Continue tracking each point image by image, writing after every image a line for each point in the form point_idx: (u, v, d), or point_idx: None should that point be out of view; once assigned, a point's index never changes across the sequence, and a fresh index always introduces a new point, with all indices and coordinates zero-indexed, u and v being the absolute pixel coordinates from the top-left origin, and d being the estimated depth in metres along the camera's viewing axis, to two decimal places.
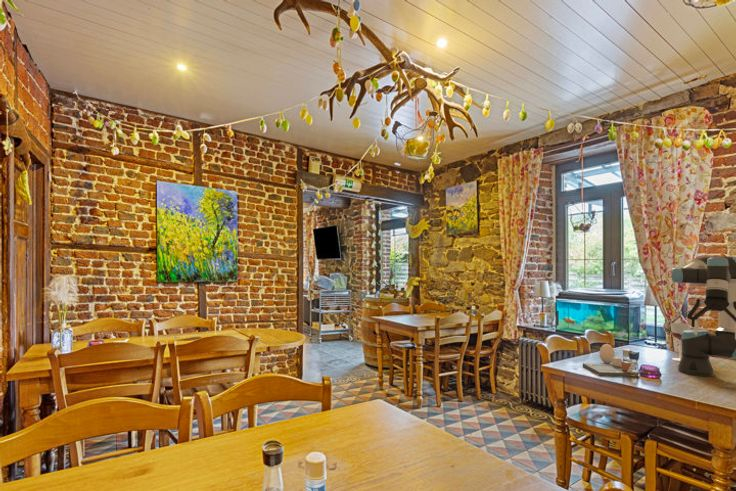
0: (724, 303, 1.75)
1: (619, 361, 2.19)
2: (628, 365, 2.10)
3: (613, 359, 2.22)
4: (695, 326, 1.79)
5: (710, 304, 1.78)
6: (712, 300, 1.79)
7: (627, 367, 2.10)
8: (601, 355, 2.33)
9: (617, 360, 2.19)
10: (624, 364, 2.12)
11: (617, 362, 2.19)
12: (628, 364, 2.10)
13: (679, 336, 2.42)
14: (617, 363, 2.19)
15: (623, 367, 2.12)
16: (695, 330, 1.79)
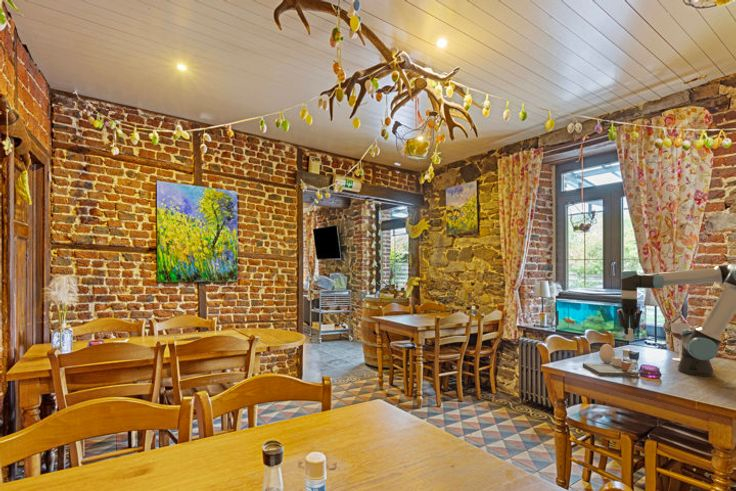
0: None
1: (619, 361, 2.19)
2: (628, 365, 2.10)
3: (613, 359, 2.22)
4: None
5: None
6: None
7: (627, 367, 2.10)
8: (601, 355, 2.33)
9: (617, 360, 2.19)
10: (624, 364, 2.12)
11: (617, 362, 2.19)
12: (628, 364, 2.10)
13: (679, 336, 2.42)
14: (617, 363, 2.19)
15: (623, 367, 2.12)
16: None
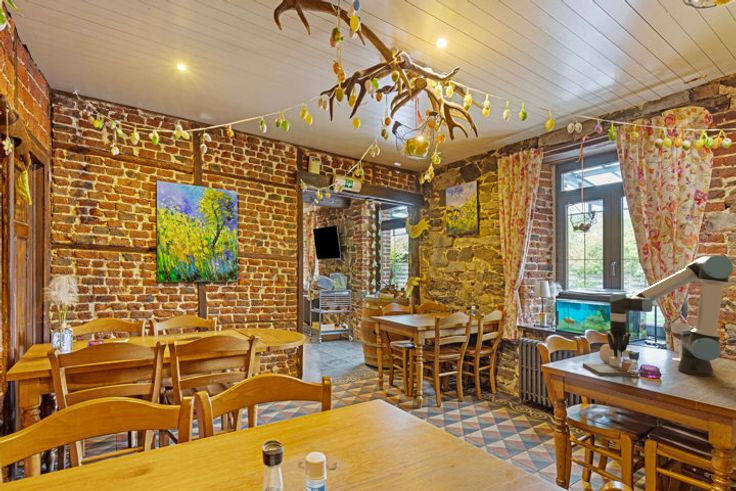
0: None
1: (616, 361, 2.19)
2: (628, 365, 2.10)
3: (610, 359, 2.22)
4: None
5: None
6: None
7: (627, 367, 2.10)
8: (601, 355, 2.33)
9: (614, 360, 2.19)
10: (624, 364, 2.12)
11: (614, 362, 2.19)
12: (628, 364, 2.10)
13: (679, 336, 2.42)
14: (614, 363, 2.19)
15: (623, 367, 2.12)
16: None
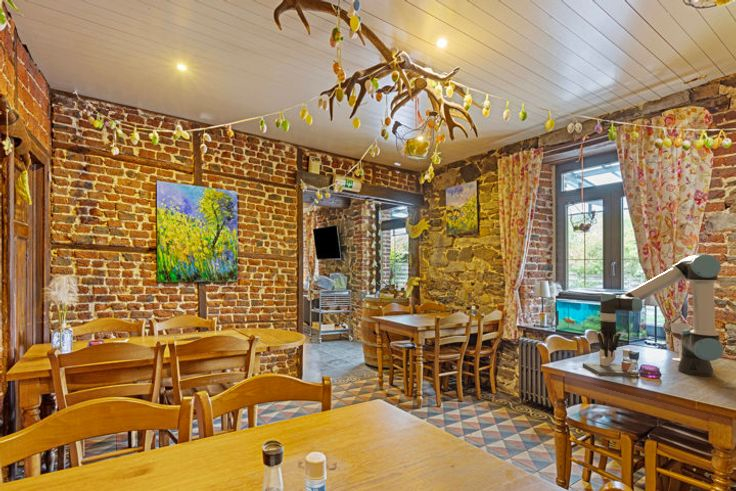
0: None
1: (606, 361, 2.20)
2: (628, 365, 2.10)
3: (601, 359, 2.22)
4: None
5: None
6: None
7: (627, 367, 2.10)
8: (601, 355, 2.33)
9: (604, 360, 2.20)
10: (624, 364, 2.12)
11: (604, 362, 2.20)
12: (628, 364, 2.10)
13: (679, 336, 2.42)
14: (604, 362, 2.20)
15: (623, 367, 2.12)
16: None
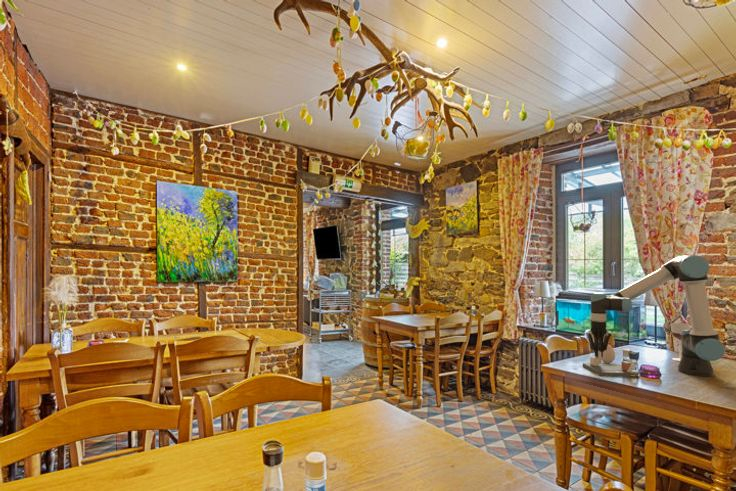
0: None
1: (597, 361, 2.20)
2: (628, 365, 2.10)
3: (591, 359, 2.22)
4: None
5: None
6: None
7: (627, 367, 2.10)
8: None
9: (595, 360, 2.20)
10: (624, 364, 2.12)
11: (595, 362, 2.20)
12: (628, 364, 2.10)
13: (679, 336, 2.42)
14: (595, 362, 2.20)
15: (623, 367, 2.12)
16: None
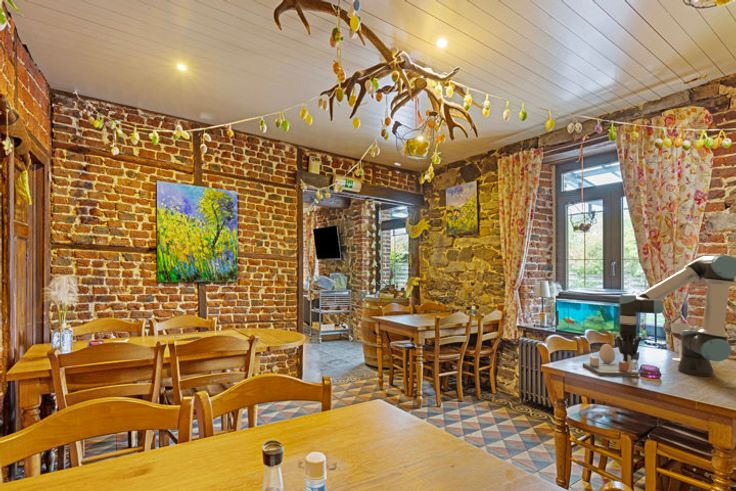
0: None
1: (596, 361, 2.20)
2: (625, 365, 2.10)
3: (591, 359, 2.22)
4: None
5: None
6: None
7: (624, 367, 2.10)
8: (601, 355, 2.33)
9: (594, 360, 2.20)
10: (621, 364, 2.12)
11: (594, 362, 2.20)
12: (625, 364, 2.10)
13: (679, 336, 2.42)
14: (594, 362, 2.20)
15: (620, 367, 2.12)
16: None
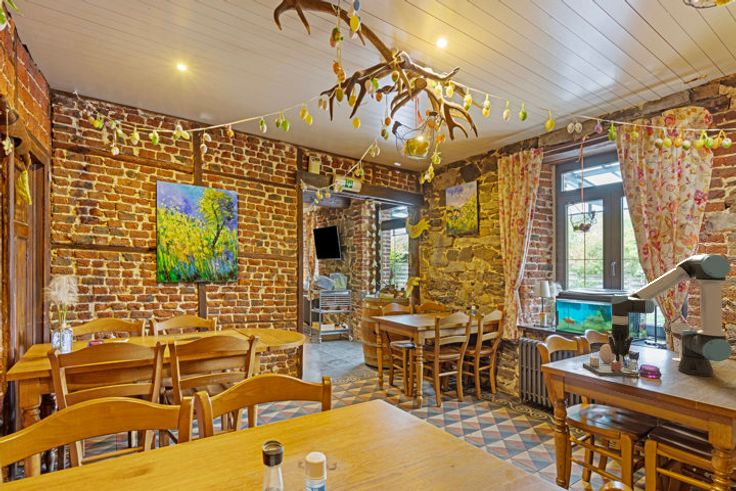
0: None
1: (596, 361, 2.20)
2: (617, 365, 2.11)
3: (591, 359, 2.22)
4: None
5: None
6: None
7: (616, 367, 2.11)
8: (601, 355, 2.33)
9: (594, 360, 2.20)
10: (613, 364, 2.12)
11: (594, 362, 2.20)
12: (617, 364, 2.11)
13: (679, 336, 2.42)
14: (594, 362, 2.20)
15: (612, 367, 2.13)
16: None
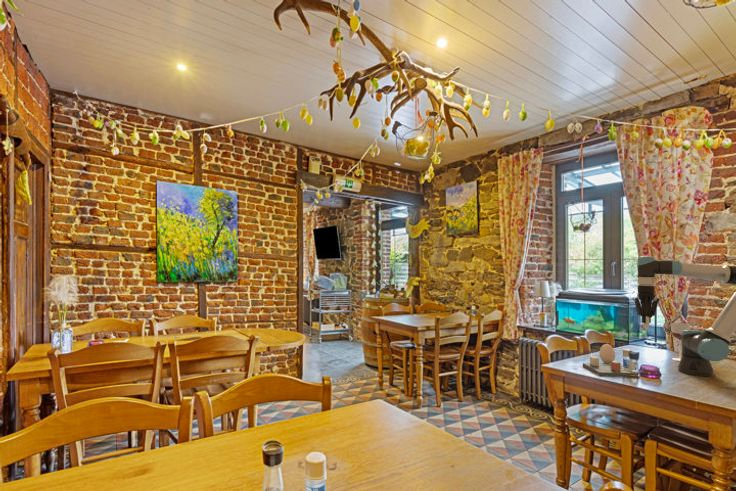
0: None
1: (596, 361, 2.20)
2: (617, 365, 2.11)
3: (591, 359, 2.22)
4: None
5: None
6: None
7: (616, 367, 2.11)
8: (601, 355, 2.33)
9: (594, 360, 2.20)
10: (613, 364, 2.12)
11: (594, 362, 2.20)
12: (617, 364, 2.11)
13: (679, 336, 2.42)
14: (594, 362, 2.20)
15: (612, 367, 2.13)
16: None
